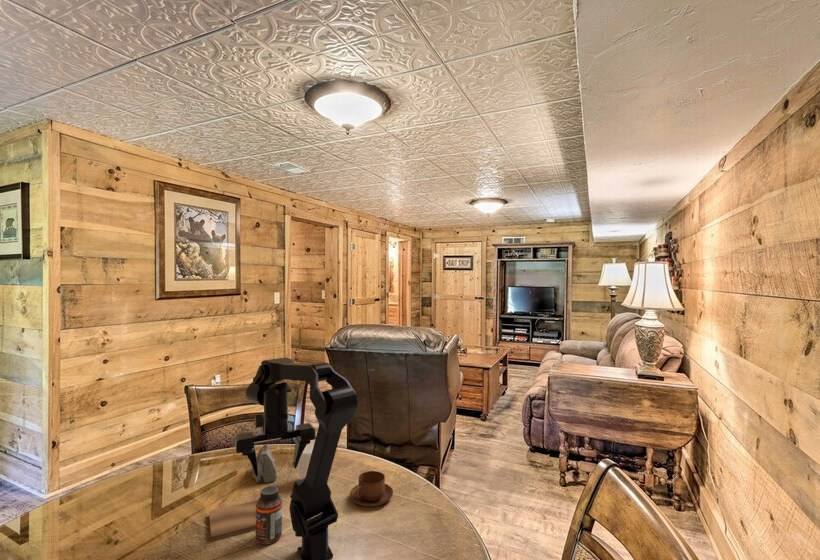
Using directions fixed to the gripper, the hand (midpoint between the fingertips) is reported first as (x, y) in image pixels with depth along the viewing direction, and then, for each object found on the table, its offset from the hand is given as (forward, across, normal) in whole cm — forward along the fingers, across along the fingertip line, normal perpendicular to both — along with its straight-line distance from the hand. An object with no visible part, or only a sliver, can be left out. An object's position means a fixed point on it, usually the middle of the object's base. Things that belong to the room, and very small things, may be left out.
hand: (276, 471), depth 101 cm
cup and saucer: (+14, -26, -1) cm, 29 cm away
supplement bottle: (+13, +2, +4) cm, 14 cm away
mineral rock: (+13, -2, -30) cm, 32 cm away
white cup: (+13, -13, -19) cm, 26 cm away
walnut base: (+13, +9, -6) cm, 17 cm away
